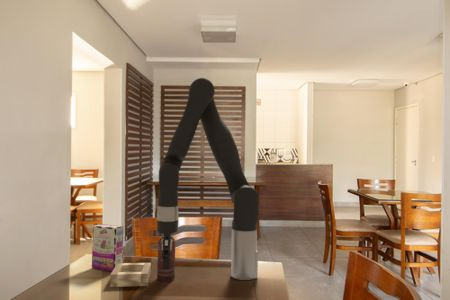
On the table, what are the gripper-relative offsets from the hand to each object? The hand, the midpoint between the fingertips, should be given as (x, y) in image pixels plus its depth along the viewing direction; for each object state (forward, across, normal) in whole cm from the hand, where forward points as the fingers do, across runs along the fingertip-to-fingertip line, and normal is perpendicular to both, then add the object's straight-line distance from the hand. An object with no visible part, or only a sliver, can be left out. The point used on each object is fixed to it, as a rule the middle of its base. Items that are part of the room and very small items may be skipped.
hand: (166, 264), depth 120 cm
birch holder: (+5, 0, +12) cm, 13 cm away
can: (+5, 0, 0) cm, 5 cm away
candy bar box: (+5, +13, +23) cm, 27 cm away
